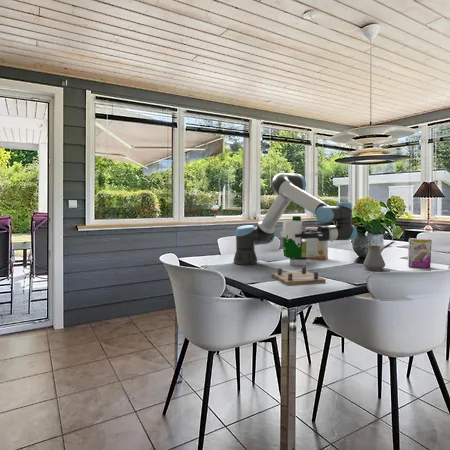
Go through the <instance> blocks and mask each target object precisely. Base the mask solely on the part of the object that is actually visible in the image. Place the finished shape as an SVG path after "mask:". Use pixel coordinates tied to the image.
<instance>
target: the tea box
mask: <svg viewBox="0 0 450 450" xmlns="http://www.w3.org/2000/svg"><path fill="white" fill-rule="evenodd" d="M306 250H307V241H306V239H305V238H302V257H301V258H289V265H291V266H306V265H307V258H306Z"/></svg>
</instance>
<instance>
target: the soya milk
mask: <svg viewBox="0 0 450 450" xmlns="http://www.w3.org/2000/svg"><path fill="white" fill-rule="evenodd" d="M282 231H283V237H282V248H283V257H285V258H287V259H290V258H301V257H302V239H303V238H302V237H301V238H296V239H288V233H301V234H302V231H303V220H302V216H299V215H298V216H297V215H294V216H292V220H291V219H287V220H283V221H282Z"/></svg>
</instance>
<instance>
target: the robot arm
mask: <svg viewBox="0 0 450 450" xmlns="http://www.w3.org/2000/svg"><path fill="white" fill-rule="evenodd" d="M271 188H272V191H273V192H274V193H276V194H277V195H276V197H275V198H274V200H273V202H272V204H271V205H270V207H269V209H268V210H267V212H266V215H265V216H264V217H263V219H262V220H260V221H258V223H257V225H256V226H255V225H253V224H249V225H248V224H247V225H241V226H238V227H237V228H236V230H235V240H236V241H235V249H236V250H235V254H234V256H233V264H237V265H255V264H257V263H258V257H257V255H256V251H255V249H256V248H255V247H256V246H260V245H268V244H271V243H272V242H273V241H274V239H275V236H276V235H275V234H276V232H275V231H276V229H275V227H276V226H277V223H278V222H279V220H280V219H281V217H282V215H283V214H284V212H285V211H286V209H287V207H288V206H289V204H290V203H291V202H293V203H295V204H296V205H299V207H301V208H303V209H304V210H306V211H308V212H309V213H310V214H313V215H315V218H316V220H317V221H318V222H321V223H330V222H336V225H320V226H318V228H317V230H306V231H305V230H302V234H301V233H288V239H296V238H301V237H302V239H307V238H317V239H318V240H319V241H328V242H331V243H332V242H333V241H350V240H354V239H356V238H357V236H358V230H357V227H356V226H355V224H354V225H353V223H352V222H353V205H352V203H351V202H349V201H347V202H345V201H344V202H343V201H341V202H340V201H338V202H337V203H336V205H334V206H333V205H328V204H327V203H325V202H324V201H322V200H321V199H319V198H316V197H315V196H313V195H312V194H310V193H308V192H307V191H305V190H306V188H307V183H306V179H305V177H304V176H303V175H302V174H300V173H295V172H293V173H288V172H287V173H286V172H279V173H277V174H276V175H274V176H273V178H272V179H271ZM280 237H281V238H283V230H282V231H280Z"/></svg>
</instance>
